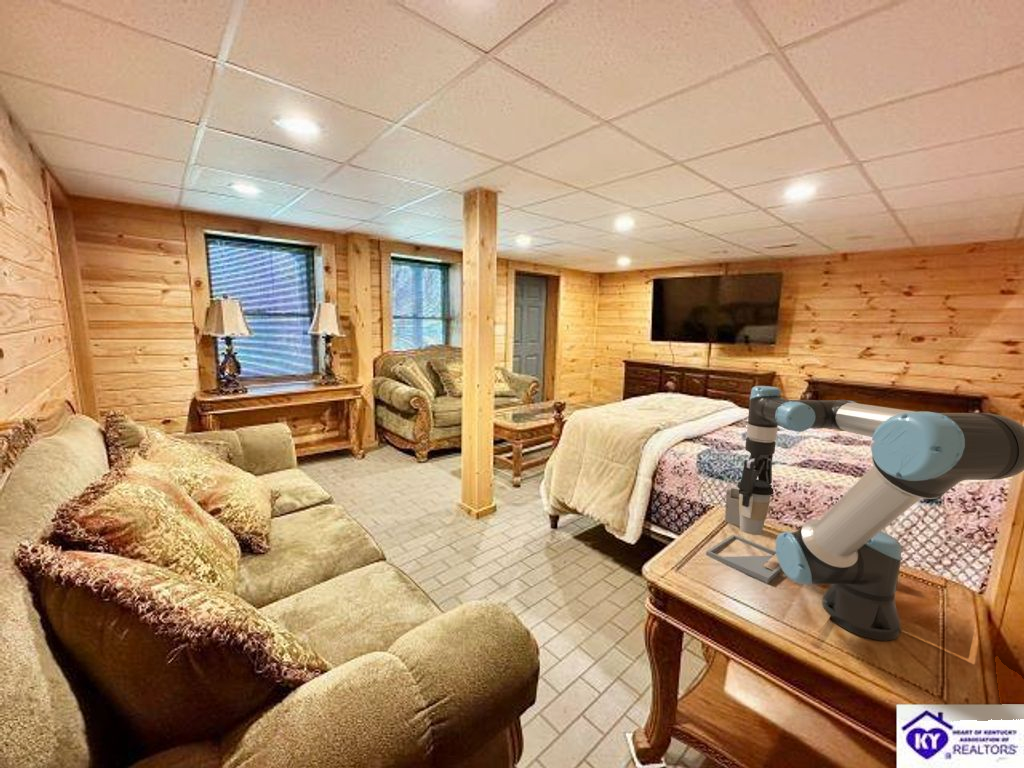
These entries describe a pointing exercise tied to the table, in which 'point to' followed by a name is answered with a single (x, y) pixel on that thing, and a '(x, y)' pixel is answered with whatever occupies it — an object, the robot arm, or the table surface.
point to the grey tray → (748, 561)
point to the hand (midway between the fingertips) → (753, 511)
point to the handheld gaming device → (732, 506)
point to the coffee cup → (756, 508)
